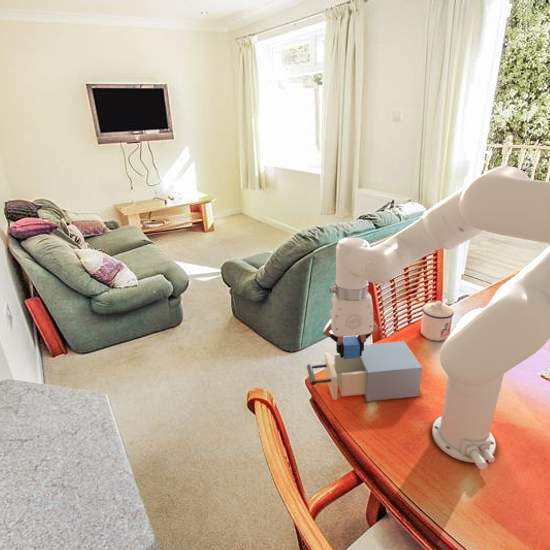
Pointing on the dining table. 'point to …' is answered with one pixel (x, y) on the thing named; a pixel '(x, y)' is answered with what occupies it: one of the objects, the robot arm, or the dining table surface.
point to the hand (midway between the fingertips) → (349, 353)
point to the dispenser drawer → (342, 375)
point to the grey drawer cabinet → (391, 371)
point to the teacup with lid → (436, 321)
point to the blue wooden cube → (351, 347)
